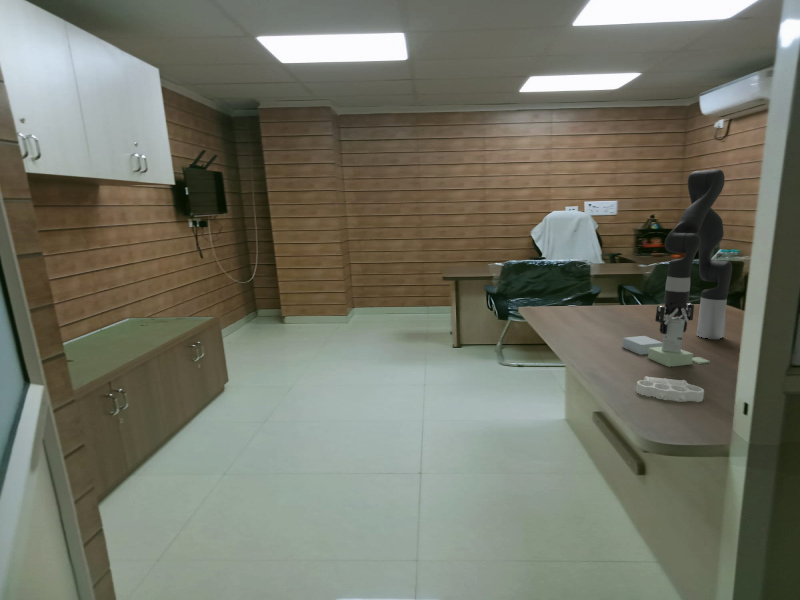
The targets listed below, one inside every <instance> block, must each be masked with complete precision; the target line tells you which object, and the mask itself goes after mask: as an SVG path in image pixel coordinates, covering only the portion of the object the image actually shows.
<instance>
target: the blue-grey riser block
mask: <svg viewBox="0 0 800 600" xmlns="http://www.w3.org/2000/svg"><path fill="white" fill-rule="evenodd" d="M662 344H663V341H659V340H657V339H655V338H652V337H649V336H647V335H639V336H638V335H637V336H629V337H627V336H626V337H622V348H624V349H626V350H628V351H631V352H633V353H635V354H637V355H640V356H642V355H648V353H649V348H653V347H662Z"/></svg>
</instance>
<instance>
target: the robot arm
mask: <svg viewBox="0 0 800 600" xmlns="http://www.w3.org/2000/svg"><path fill="white" fill-rule="evenodd" d="M724 186H725V174H724V171H723V170H721V169H707V170H706V169H702V170H696V171H693V172H691V173H690V174H689V175H688V177H687V188H688V189H687V191H688V194H689V195H688V196H689V199H690V202H691V204H690V205H689V206H687V208H686V209H685V210H684V211H683V213H682V215H681V217H680V220H679V222H678V223H677V225H676V226H675V227H674V228H673V229H672V230H671V231H669V233H668V235H667V236H666V238H665V239H664V248H665V250H666V251H668V252H669V253H674V254H675V253H677V254H685V256H684V257H682V258H678V259H676V258H675V259H671V260H669V262H668V266H667V267H668V269H667V277H666V281H665V290H664V298H663V299H664V301H665V304H664V305H657V306H656V313H655V322H657V323H659V324H660V325H659V332H660V334H662V335H664V334H666V333H667V323H668V321H669V320H671V319H672V318H680V319H684V320H685V323H684V330H683V333H685V332H686V331H687V329H688V328H687V327H688V323H689V322H690V321H693V319H694V311H695V305H694V304H693V303H690V302H689V299H690V290H691V275H692V274H691V273H692V267H693V263H694V260H695V257H696V254H697V252H698V271H699V277H700V279H701V280H702V281H704V282H711V283H717V285H716V287H712V288H708V289H703V290H702V291H701V294H700V295H701V296H700V303H699V304H700V305H699V312H698V319H697V329H696V336H697V337H698V336H699V337H698V338H701V337H702V339H705V338H708V339H707V340H721V339H720V338H722V337H724V338H725V332H726V331H725V330H726V323H727V315H726V309H727V302H728V301H727V300H728V295H729V289H730V284H731V279H732V273H733V265H732V263H731V261H728V260H718V259H712V258H711V254H712V253H713V250H715V248H716V247H717V246H718V245H719V244H720V242H721V241H722V239H723V238H724V223H723V219H722V218H721V216H720V214H719V213H718V212H716V211H715V210H714V209H713V208H712V206H713V205H714V203H715V202H716V201H717V200H718V197H719V196H720V194H721V193H722V191H723V189H724ZM722 339H723V338H722Z"/></svg>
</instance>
